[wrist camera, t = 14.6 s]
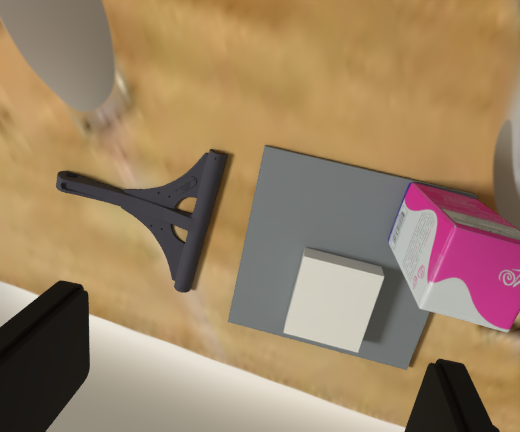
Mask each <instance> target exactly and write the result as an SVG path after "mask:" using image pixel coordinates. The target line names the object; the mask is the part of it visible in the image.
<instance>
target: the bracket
mask: <svg viewBox="0 0 520 432" xmlns="http://www.w3.org/2000/svg"><path fill="white" fill-rule="evenodd" d="M227 156H228V155H227V154H223V155H221V154H217V153H215V152H214V150H212V149H210V151H209V154H208V153H205V154H204V155H203V156H202V157H201V159H200V160H199V161H198V162H197V163H196V164H195V165H194V166H193V167H192V168H191V169H190V170H189V171H188V172H187V173H186V174H184V175H183V176H182V177H180V178H178V179H177V180H175V181H173V182H171V183H169V184H167V185H164V186H161V187H156V188H151V189H125V190H124V191H123V190H120V189H117V188H114V187H112V186H109V185H106V184H103V183H100V182H97V181H94V180H91V179H88V178H86V177H83V176H80V175H77V174H74V173H71V172H68V171H60V172H59V173H58V175H57V182H56V188H57V189H58V190H60V191H61V192H65V193H70V194H75V195H79V196H83V197H87V198H91V199H96V200H100V201H104V202H108V203H111V204H114V205H118V206H121V208H122V209H124V210H125V211H127V212H128V213H130V214H132V215H133V216H134V217H136V218H137V219H138V220H139V221H141V222H142V223H143V224H144V225H145V226H146V227H147V228H148V229H149V230H150V231H151V232H152V233H153V235H154V236H155V238H156V239H157V241H158V242H159V244H160V246H161V247H162V249H163V251H164V254H165V256H166V258H167V261H168V264H169V268H170V272H171V276H172V280H174V281H175V285H174V288H175V289H176V290H177V291H179V292H188V291H190V288H191V285H192V281H193V278H194V274H195V271H196V267H197V263H198V260H199V256H200V253H201V249H202V245H203V242H204V238H205V235H206V231H207V228H208V224H209V220H210V217H211V213H212V210H213V206H214V202H215V199H216V195H217V192H218V188H219V185H220V181H221V177H222V174H223V170H224V167H225V163H226V159H227ZM159 192H160V193H159ZM170 196H171V197H170ZM186 197H195V198H197V201H196V205H195V208H194V211H193V213H188V212H184V211H181V210H178V209H175V207H176V204H177V203H178V202H179V201H180V200H181V199H183V198H186ZM172 224H173V225H175V226H178V227H180V228H183V229H185V230H187V231H188V235H187V239H186V243H184V242H182V241H181V240H180V239H178V238H177V237H176V235H175V234H174V232H173V230H172Z"/></svg>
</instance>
